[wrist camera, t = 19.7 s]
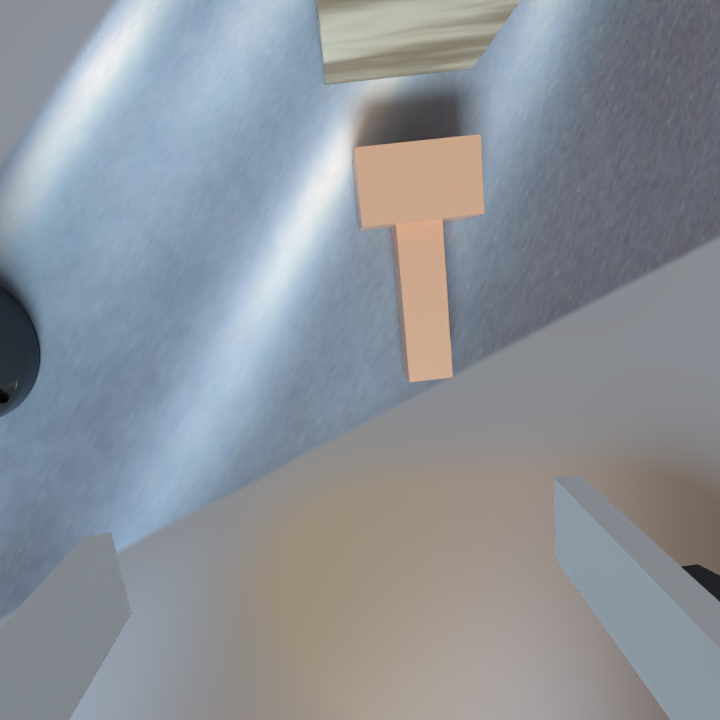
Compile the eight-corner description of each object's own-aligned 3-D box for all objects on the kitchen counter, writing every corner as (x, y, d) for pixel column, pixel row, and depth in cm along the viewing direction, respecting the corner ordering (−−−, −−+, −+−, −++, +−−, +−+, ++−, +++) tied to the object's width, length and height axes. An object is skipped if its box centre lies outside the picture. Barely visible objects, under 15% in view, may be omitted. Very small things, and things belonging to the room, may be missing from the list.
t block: (472, 363, 47) (491, 379, 41) (373, 375, 46) (378, 392, 41) (461, 151, 42) (480, 134, 36) (352, 162, 42) (353, 147, 36)
